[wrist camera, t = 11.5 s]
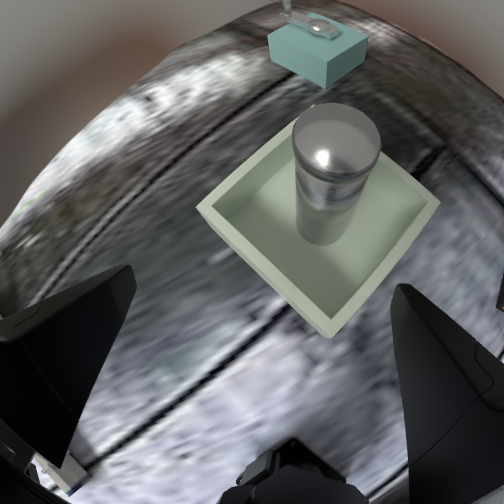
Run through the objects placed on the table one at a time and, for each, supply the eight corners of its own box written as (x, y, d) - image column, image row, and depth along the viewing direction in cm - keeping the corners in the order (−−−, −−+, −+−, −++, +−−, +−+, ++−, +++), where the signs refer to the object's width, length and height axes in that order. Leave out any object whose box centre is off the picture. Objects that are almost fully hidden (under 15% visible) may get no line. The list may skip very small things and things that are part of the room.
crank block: (364, 61, 28) (368, 36, 25) (325, 89, 28) (327, 62, 24) (312, 35, 31) (312, 12, 27) (271, 60, 30) (267, 35, 26)
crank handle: (347, 31, 25) (349, -4, 20) (319, 46, 24) (319, 8, 20) (298, 11, 27) (295, -21, 22) (268, 25, 26) (263, -9, 22)
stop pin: (358, 220, 22) (398, 136, 12) (323, 258, 22) (346, 191, 12) (318, 187, 24) (329, 89, 13) (283, 222, 23) (272, 135, 13)
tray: (419, 223, 23) (440, 202, 18) (324, 337, 21) (331, 338, 17) (312, 136, 26) (313, 104, 22) (212, 228, 25) (195, 206, 21)
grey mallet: (60, 503, 16) (-56, 318, 20) (89, 478, 23) (-21, 319, 26) (81, 487, 17) (-44, 288, 20) (110, 460, 23) (-8, 293, 27)
